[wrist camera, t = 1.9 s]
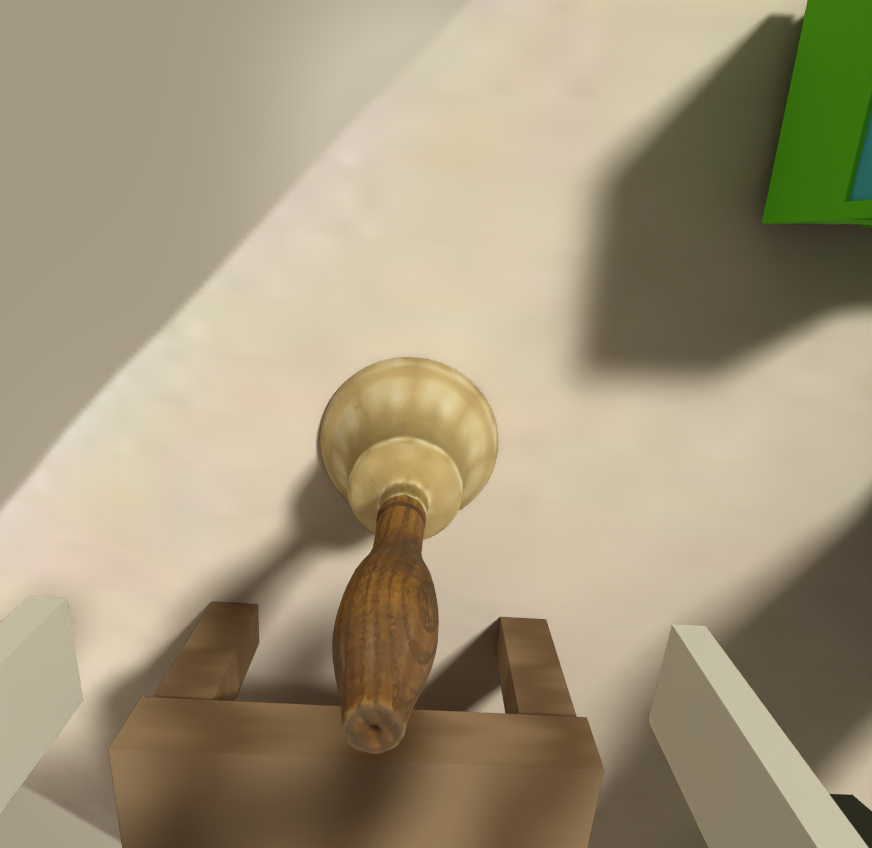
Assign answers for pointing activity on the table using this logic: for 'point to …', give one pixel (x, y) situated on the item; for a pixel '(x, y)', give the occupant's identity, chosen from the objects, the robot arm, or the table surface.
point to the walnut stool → (351, 760)
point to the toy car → (827, 122)
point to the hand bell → (398, 527)
